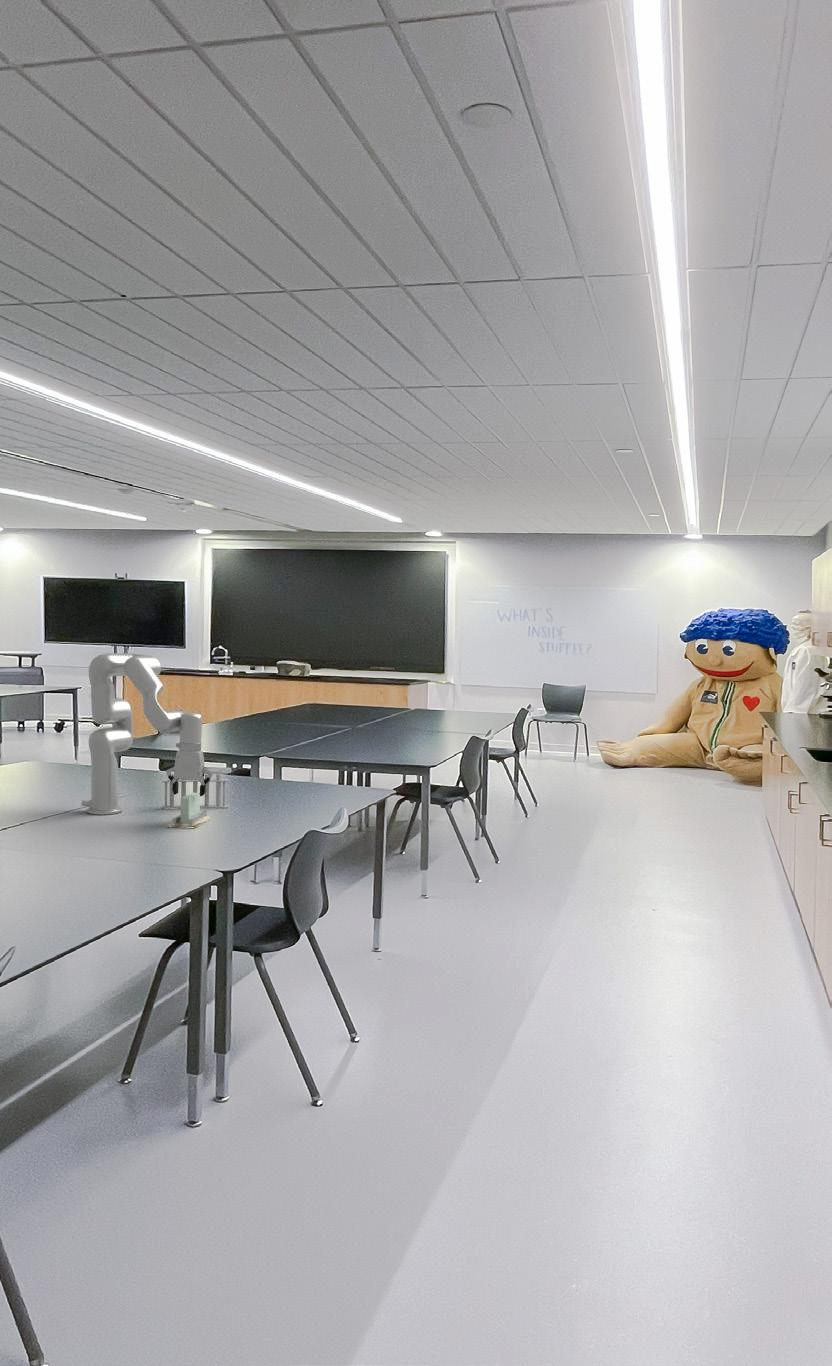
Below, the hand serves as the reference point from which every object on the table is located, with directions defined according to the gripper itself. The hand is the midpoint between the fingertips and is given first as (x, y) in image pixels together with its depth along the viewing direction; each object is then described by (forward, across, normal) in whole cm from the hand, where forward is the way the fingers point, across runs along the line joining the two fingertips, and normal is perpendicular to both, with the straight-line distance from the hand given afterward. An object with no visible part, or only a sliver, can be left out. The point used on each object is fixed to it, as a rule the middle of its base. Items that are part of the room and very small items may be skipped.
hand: (188, 794), depth 355 cm
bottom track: (+10, +1, 0) cm, 10 cm away
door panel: (+9, +1, 0) cm, 9 cm away
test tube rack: (+11, -7, +30) cm, 32 cm away
